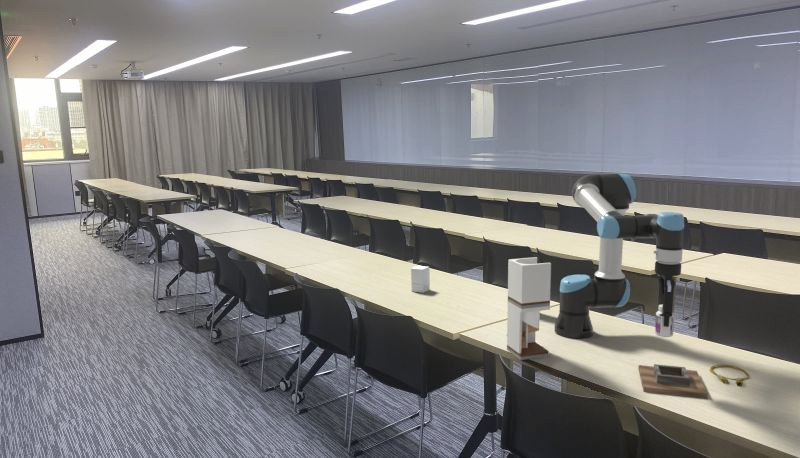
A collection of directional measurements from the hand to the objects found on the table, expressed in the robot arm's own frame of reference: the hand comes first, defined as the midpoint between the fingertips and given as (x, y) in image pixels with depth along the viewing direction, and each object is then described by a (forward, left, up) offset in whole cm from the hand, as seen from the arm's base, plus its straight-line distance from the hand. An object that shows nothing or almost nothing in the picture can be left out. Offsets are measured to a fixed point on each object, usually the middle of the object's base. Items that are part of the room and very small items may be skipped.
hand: (664, 332), depth 184 cm
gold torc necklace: (-12, +22, -18) cm, 31 cm away
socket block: (-1, +3, -17) cm, 17 cm away
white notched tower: (-15, -44, -17) cm, 50 cm away
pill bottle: (0, 0, -1) cm, 1 cm away
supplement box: (-89, -106, -17) cm, 139 cm away
